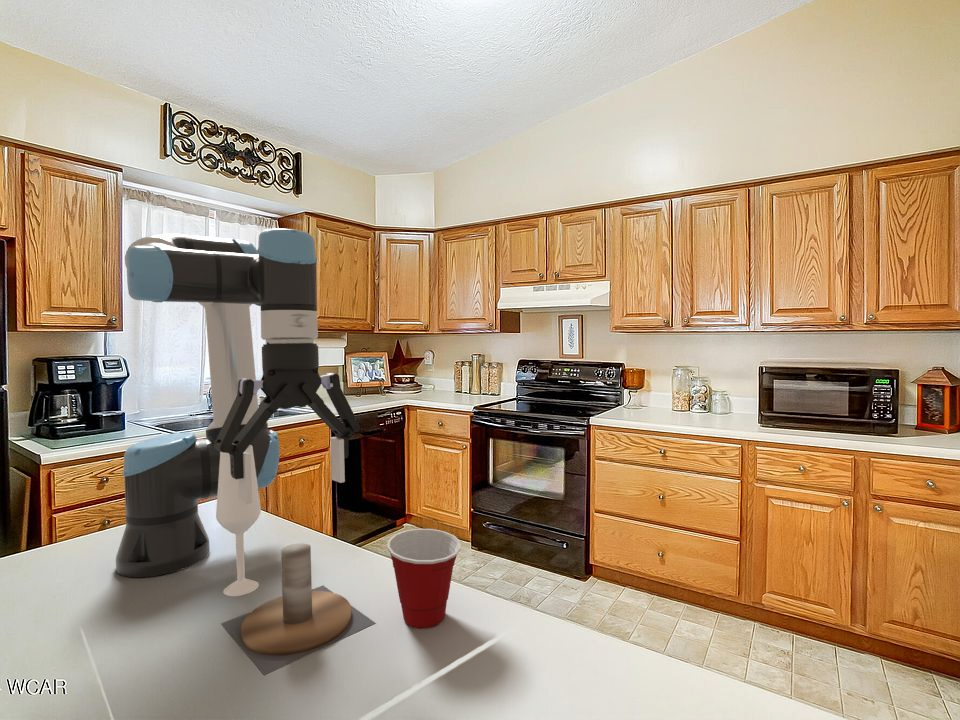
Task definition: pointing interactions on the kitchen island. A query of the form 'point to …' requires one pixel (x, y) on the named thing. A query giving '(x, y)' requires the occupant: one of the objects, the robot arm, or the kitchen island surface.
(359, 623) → the mat
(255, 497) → the champagne flute
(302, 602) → the lid
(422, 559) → the plastic cup
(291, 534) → the kitchen island surface
